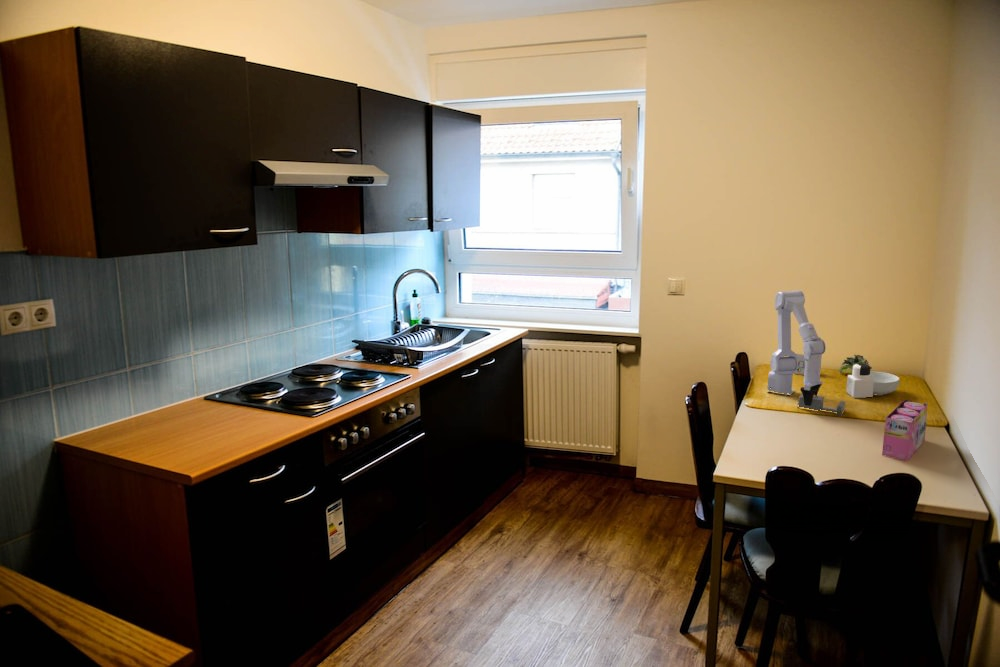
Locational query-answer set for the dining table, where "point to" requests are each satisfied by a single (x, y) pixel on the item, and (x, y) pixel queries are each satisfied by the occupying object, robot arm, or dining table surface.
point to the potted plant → (852, 363)
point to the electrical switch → (800, 364)
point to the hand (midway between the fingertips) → (810, 402)
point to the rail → (839, 408)
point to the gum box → (904, 430)
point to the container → (860, 382)
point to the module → (816, 402)
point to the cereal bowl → (884, 382)
